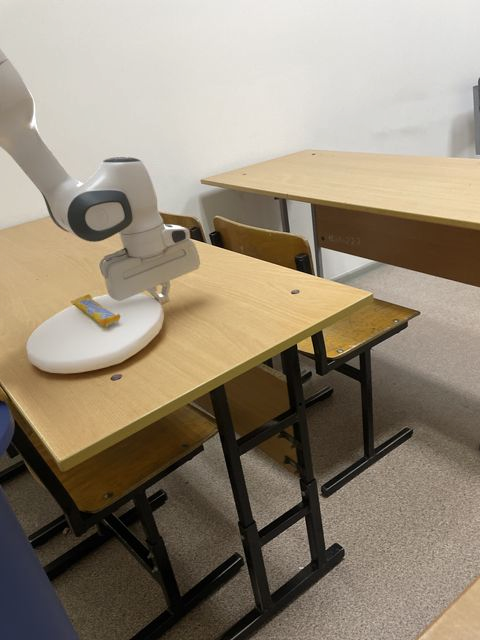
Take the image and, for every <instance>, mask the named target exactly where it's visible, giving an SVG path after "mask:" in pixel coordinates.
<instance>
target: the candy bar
mask: <svg viewBox="0 0 480 640" xmlns="http://www.w3.org/2000/svg"><path fill="white" fill-rule="evenodd" d="M92 298H93V297H92V296H91V294H85V295H83V296H80V297H77V298H76V299H74V300H71V301H70V304H71V306H73V305H75V306H76V307H77V308H78V309H80V310H81V311H82V312H84V313H85V314H86V315H87V316H89V317H90V318H92V319H93V320H95V321H96V322H98V323H99V324H100V325H101V326H105V327H107V326H109V325H111V324H112V323H115V322H117V321H118V320H119V319H120V315H119V314H117V315H115V314H113V313H112V312H110V311H108V310H107V309H105V308H104V307H102V306H101V305H100V304H98V303H97V302H96V301H94V300H93V299H92Z"/></svg>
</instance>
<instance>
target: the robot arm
mask: <svg viewBox="0 0 480 640" xmlns="http://www.w3.org/2000/svg"><path fill="white" fill-rule="evenodd" d="M0 148H1V149H2V150H4V151H5V152H6V153H7V154H8V155H9V156H10V157H11V158H12V159H13V160H14V162H15V163H16V164H17V165H18V167H20V169H21V170H22V171H23V173H25V174H26V176H27V177H28V179H30V181H31V182H32V183H33V184H34V186H35V187H36V188H37V189H38V190H39V192H40V193H41V195H42V197H43V199H44V203H45V205H46V209H47V212H48V214H49V217H50V218H51V220H52V221H53V223H54V224H55V225H56V226H57V227H58V228H60V229H61V230H62V231H64V232H66V233H69V234H72V235H74V236H75V237H77V238H79V239H80V240H83V241H85V242H91V243H98V242H102V241H104V240H107V239H109V238H111V237H113V236H115V235H117V234H119V238H120V240H121V244H122V247H123V248H121V249H118V250H116V251H114V252H111V253H107V254H105V255H104V256H103V258H102V259H101V260H100V261H99V271H100V273H101V275H102V276H103V278H104V282H105V286H106V291H107V294H109V296H110V297H111V298H113V299H115V300H117V301H122V300H124V299H127V298H129V297H132V296H134V295H136V294H142V293H144V292H147V293H149V295H150V296H151V297H152V298H154V299H156V300H157V301H158V302H159V303H160V305H161V306H162V305H164V304H167V303H169V302H170V297H169V293H170V290H171V289H170V288H171V282H170V281H173V280H175V279H177V278H179V277H182V276H184V275H187V274H189V273H192V272H194V271H197V270H199V268H200V266H201V261H200V255H199V252H198V249H197V247H196V244H195V242H194V241H193V240H192V239H191V233H190V230H189V228H187V227H184V226H182V225H177V224H165V223H164V219H163V217H162V216H161V214H160V212H159V209H158V197H157V194H156V193H157V192H156V190H155V187H154V184H153V181H152V177H151V175H150V173H149V170H148V168H147V166H146V164H145V163H144V162H143V160H140V159H139V158H136V157H131V156H128V157H124V156H119V157H118V156H116V157H109V158H106V159H105V158H104V160H102V161H101V163H100V166H99V167H98V169H96V171H95V172H94V173H93V174H92V175H91V176H90V177H89V178H87V180H86V181H84V182H82V181H80V180H78V179H77V178H75V177H74V176H72V175H71V174H70V173H69V172H68V171H67V170H66V168H65V167H64V165H63V163H61V161H60V160H59V159H58V157H57V156H56V155H55V154H54V152H53V151H52V149H50V147H49V146H48V145H47V143H46V142H45V141H44V139H43V138H42V136H41V134H40V132H39V129H38V125H37V122H36V103H35V99H34V97H33V95H32V93H31V91H30V90H29V88H28V86H27V84H26V82H25V81H24V79H23V77H22V75H21V74H20V72H19V71H18V70H17V69H16V67H15V66H14V64H13V63H12V61H10V59H9V58H8V56H7V55H6V54H5V53H4V52H3V50H2V48H0ZM158 286H161V291H160V293H159V294H158V293H156V292H158V288H157V287H158Z"/></svg>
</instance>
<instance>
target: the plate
mask: <svg viewBox="0 0 480 640" xmlns="http://www.w3.org/2000/svg"><path fill="white" fill-rule="evenodd" d="M92 299H93V300H94V301H96V302H97V303H98V304H100V305H101V306H102V307H104V308H105V309H107V310H108V311H110V312H112V313H113V314H115V315H117V314H119V315H120V319H119V320H118V321H117V322H115V323H112V324H111V325H109V326H107V327H105V326H101V325H100V324H99V323H98V322H96V321H95V320H93V319H92V318H90V317H89V316H87V315H86V314H85V313H84V312H82V311H81V310H80V309H78V308H77V307H76V306H75V305H71V306H68V307H66V308H64V309H63V310H61V311H59V312H57V313H55V314H53V315H52V316H51V317H49V318H47V319H46V320H44V321H43V322H42V323H40V325H39V326H37V327H36V328H35V329H34V330H33V331H32V333H31V334H30V336H29V337H28V339H27V342H26V343H25V345H26V346H25V347H26V354H27V359H28V361H29V362H30V364H32V365H33V366H34V367H36V368H37V369H39V370H41V371H43V372H47V373H51V374H65V375H66V374H77V373H78V374H79V373H84V372H90V371H96V370H100V369H104V368H109V367H111V366H115V365H119V364H121V363H123V362H124V361H126V360H128V359H130V358H131V357H132V356H134V355H136V354H137V353H138V352H140V351H142V349H143V348H145V347H146V346H147V345H149V343H151V342H152V340H153V339H154V338H155V337H156V336H157V335H158V334H159V333H160V331H161V330H162V328H163V324H164V319H165V314H164V310H163V306H162V305H160V303H159V302H158V301H157V300H156V299H155V298H154V297H153V296H151V295H148V294H143V293H139V294H136V295H134V296H132V297H129V298H127V299H124V300H122V301H117V300H115V299H113V298H111V297H110V296H109V294H108V293H107V294H102V295H98V296H93V297H92Z"/></svg>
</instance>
